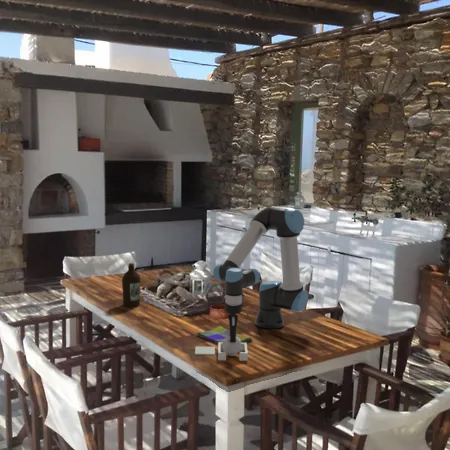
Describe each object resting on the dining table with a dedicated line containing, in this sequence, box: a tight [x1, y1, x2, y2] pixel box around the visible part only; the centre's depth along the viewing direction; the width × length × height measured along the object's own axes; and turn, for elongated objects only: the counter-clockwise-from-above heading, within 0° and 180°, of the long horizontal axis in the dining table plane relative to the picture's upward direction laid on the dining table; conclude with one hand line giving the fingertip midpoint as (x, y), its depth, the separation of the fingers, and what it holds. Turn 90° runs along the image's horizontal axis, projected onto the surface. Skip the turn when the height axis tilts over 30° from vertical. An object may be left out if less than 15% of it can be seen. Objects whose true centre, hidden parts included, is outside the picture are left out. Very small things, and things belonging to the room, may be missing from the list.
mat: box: [194, 345, 216, 356], centre depth 259 cm, size 9×9×1 cm
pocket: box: [217, 342, 249, 362], centre depth 255 cm, size 13×13×4 cm
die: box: [223, 337, 243, 356], centre depth 254 cm, size 8×9×10 cm
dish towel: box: [196, 325, 253, 346], centre depth 277 cm, size 18×24×3 cm
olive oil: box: [121, 262, 142, 308], centre depth 327 cm, size 11×11×25 cm
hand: (232, 352), depth 256 cm, fingers open, 5 cm apart
